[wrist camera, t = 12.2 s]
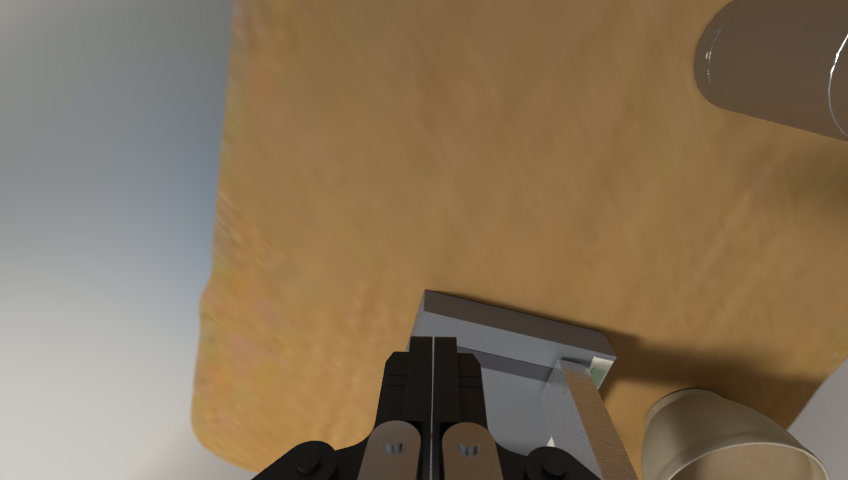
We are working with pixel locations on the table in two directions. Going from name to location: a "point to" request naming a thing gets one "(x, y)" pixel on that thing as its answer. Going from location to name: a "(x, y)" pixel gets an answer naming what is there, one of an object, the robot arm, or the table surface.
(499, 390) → the switch unit
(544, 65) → the table surface
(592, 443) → the lever
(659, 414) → the planter bowl
